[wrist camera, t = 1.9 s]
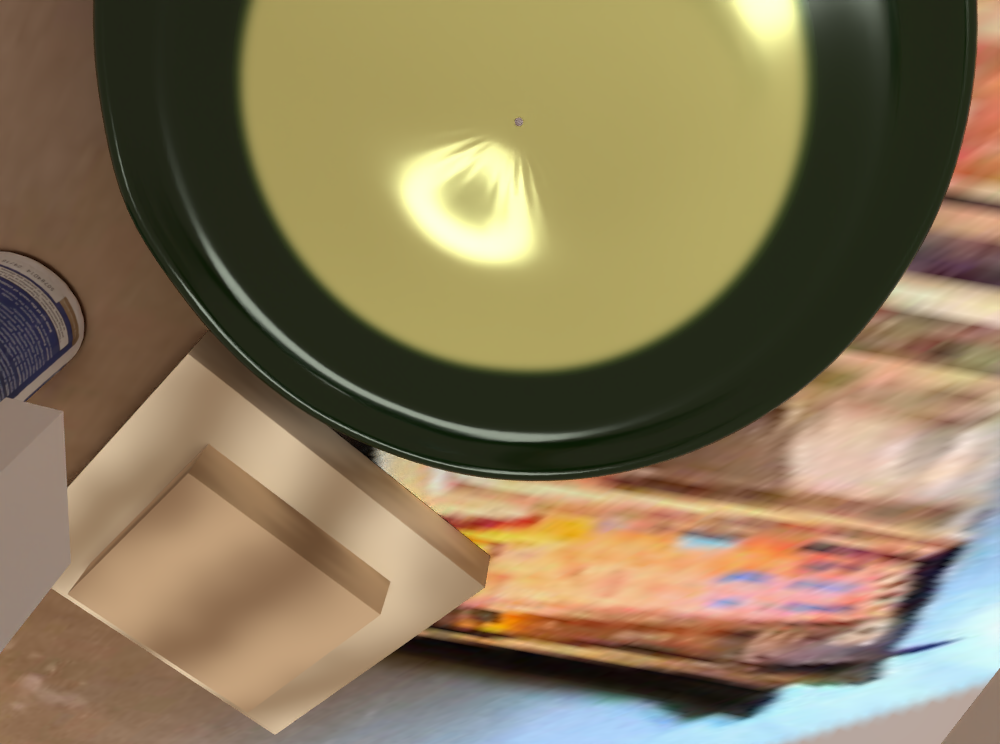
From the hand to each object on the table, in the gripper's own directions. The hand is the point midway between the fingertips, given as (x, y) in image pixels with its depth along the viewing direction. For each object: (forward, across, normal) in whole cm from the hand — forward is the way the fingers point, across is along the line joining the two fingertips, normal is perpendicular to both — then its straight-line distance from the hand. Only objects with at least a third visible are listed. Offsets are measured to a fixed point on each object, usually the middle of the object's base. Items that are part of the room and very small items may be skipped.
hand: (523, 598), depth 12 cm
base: (+21, -10, -21) cm, 31 cm away
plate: (+21, -2, +1) cm, 22 cm away
